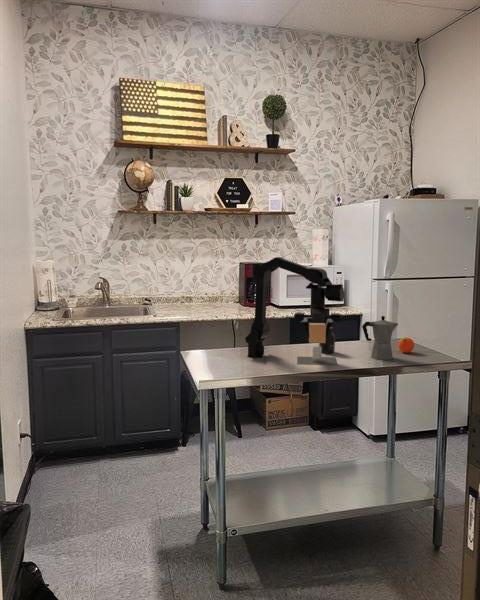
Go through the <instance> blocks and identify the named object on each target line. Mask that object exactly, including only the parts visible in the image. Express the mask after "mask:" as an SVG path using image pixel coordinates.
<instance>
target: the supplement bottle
mask: <svg viewBox="0 0 480 600" xmlns="http://www.w3.org/2000/svg"><path fill="white" fill-rule="evenodd" d="M335 345H336V335H335V334H334V327H333V326H332V327H330V329H329V332H328V334H327V337H326V340H325V343H318V346H321V348H322V349H321V355H323V354H324V355H331V354H335V351H336V350H335V349H336V347H335Z"/></svg>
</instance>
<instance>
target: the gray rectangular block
mask: <svg viewBox="0 0 480 600" xmlns="http://www.w3.org/2000/svg"><path fill="white" fill-rule="evenodd" d="M321 349H322V348H321V346H319V345H317V346H312V357H313V362H321V357H322V353H321Z"/></svg>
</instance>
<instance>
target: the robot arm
mask: <svg viewBox="0 0 480 600" xmlns="http://www.w3.org/2000/svg"><path fill="white" fill-rule="evenodd" d="M279 268H280V269H282V270H285V271H288V272H290V273H293V274H295V275H299V276H301V277H303V278H305V279H306V280H307V281H308V282H309V283H308V285H306V286H305V289H309V290H310V311H309V312H310V313H309V314H305V313H304V312H295V313H294V315H293V321H294V322H300V324H303V326H304V328H305V331H306V335H307V338H308V339H309V322H308V320H312V321H313V322H315V321H320V322H323V321H325V320H326V323H325V325H326V337H327V334H328V332H329V329H330V327H331V326H332V325H335V324H336V323H342V315H341V313H340V312H337V313H335V312H331V313H330V307H326V300H327V301H330V302H344V300H345V295H346V294H345V289H344V285H343V283H339V284H338V283H337V284H335V283H334V284H333V283H332V281H331V280H330V278H329V277H328V272H327V270H325V269H323V268H319V267H313V266H312V267H310V266H306V265H303V264H300V263H297V262H294V261H291V260H288V259H285V258H283V257H281V256H276V257H273V258H271V260H268V261H266V262H264V263H261V264H257V265H254V267H253V268H252V278H253V282H254V284H255V301H254V302H255V303H254V304H255V305H254V319H253V322H252V324H251V328H250V331H249V332H250V333H248V335H247V336H245V339H244V340H245V342H246V344H247V357H248V358H263V356H264V355H265V344H264V342H265V340H266V337H267V336H269V333H270V332H271V328H270V327H271V322H270V321H269V322H268V321H267V317H266V316H267V315H266V314H267V298H268V297H267V296H268V293H267V292H268V284H269V282H270V280H271V275H272V273H273V272H275V271H276V270H278V269H279Z"/></svg>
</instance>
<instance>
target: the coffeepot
mask: <svg viewBox="0 0 480 600" xmlns="http://www.w3.org/2000/svg"><path fill="white" fill-rule="evenodd" d="M385 318H386V316H384V315H382V316H381V320H375V321H365V322H364V323H363V324H362V326H361V327H362V331H363V335H364V337H365V340H366V341H368V342H370V341H372V338H369V333H368V328H367V327H371V328H372V335H373V339H374V342H373V346H372V351H371V356H370V358H372V359H374V360H381V361H388V360H392V359H393V351H392V344H391V343H392V342H391V341H392V335H393V333H394V331H395V329H396V328H397V326H399V323H397V322H394V321H389V320H385Z"/></svg>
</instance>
